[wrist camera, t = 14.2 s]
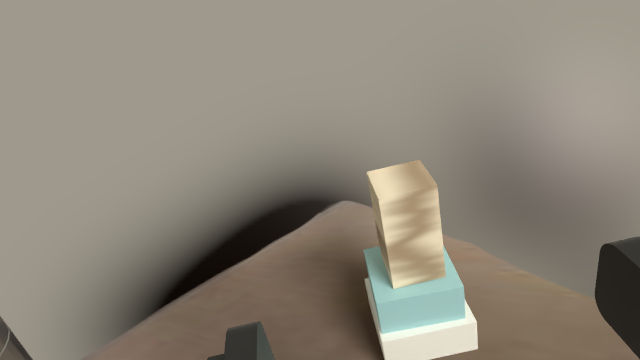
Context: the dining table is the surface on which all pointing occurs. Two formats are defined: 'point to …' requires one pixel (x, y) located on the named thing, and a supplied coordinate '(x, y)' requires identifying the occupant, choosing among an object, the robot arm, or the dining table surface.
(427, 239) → the birch post
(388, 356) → the tower base
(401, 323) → the tower top
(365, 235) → the dining table surface
